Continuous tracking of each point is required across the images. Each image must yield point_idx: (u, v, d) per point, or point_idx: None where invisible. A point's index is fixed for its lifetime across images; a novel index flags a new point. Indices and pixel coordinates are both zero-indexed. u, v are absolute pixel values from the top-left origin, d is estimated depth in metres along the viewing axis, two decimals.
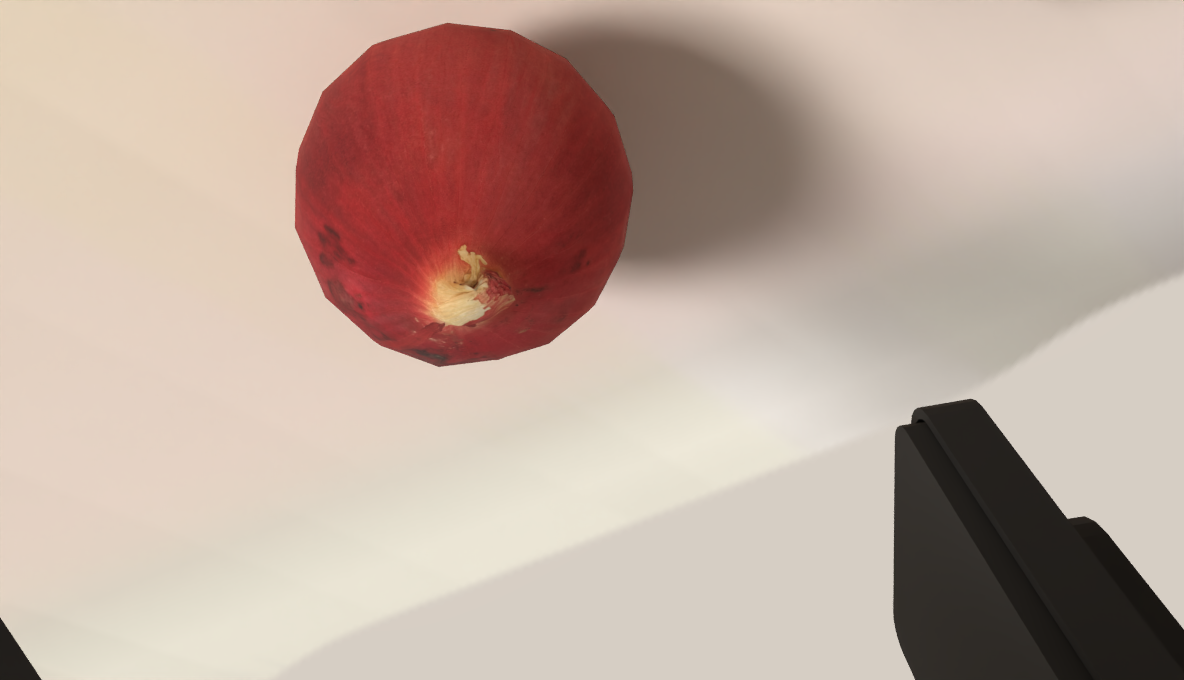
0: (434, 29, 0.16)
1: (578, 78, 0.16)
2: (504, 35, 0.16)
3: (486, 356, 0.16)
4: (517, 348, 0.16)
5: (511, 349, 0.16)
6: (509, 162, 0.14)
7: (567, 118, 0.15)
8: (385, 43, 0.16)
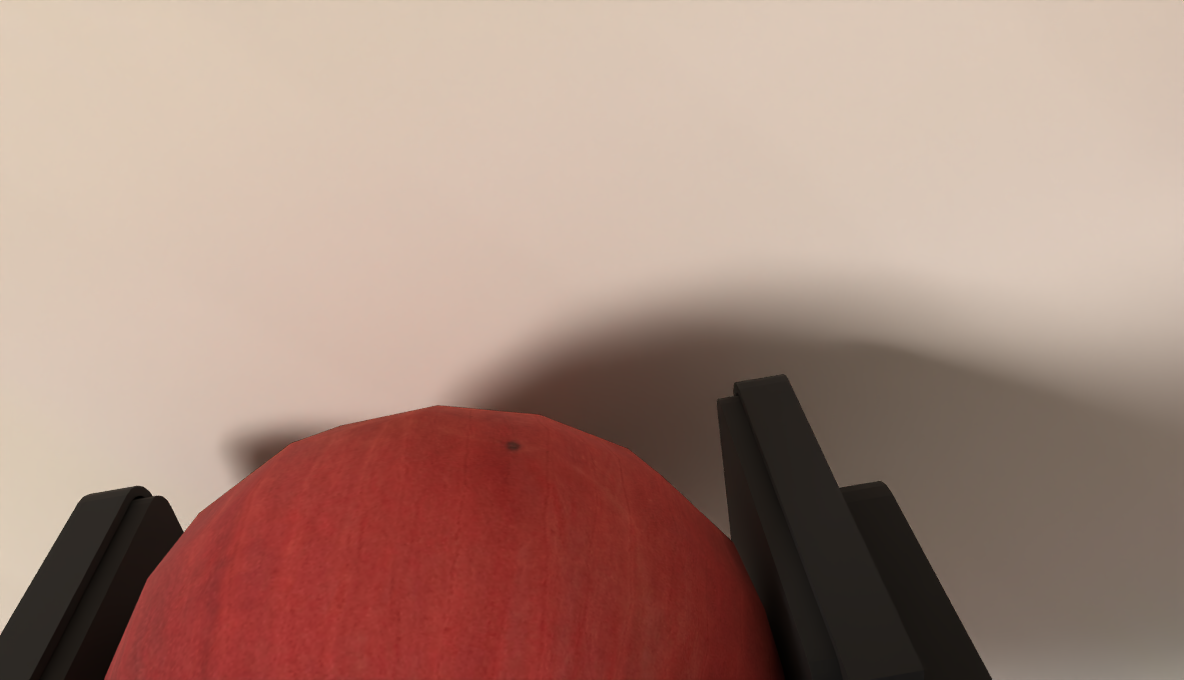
0: (384, 473, 0.07)
1: (696, 558, 0.07)
2: (538, 481, 0.07)
3: None
4: None
5: None
6: None
7: None
8: (276, 497, 0.07)
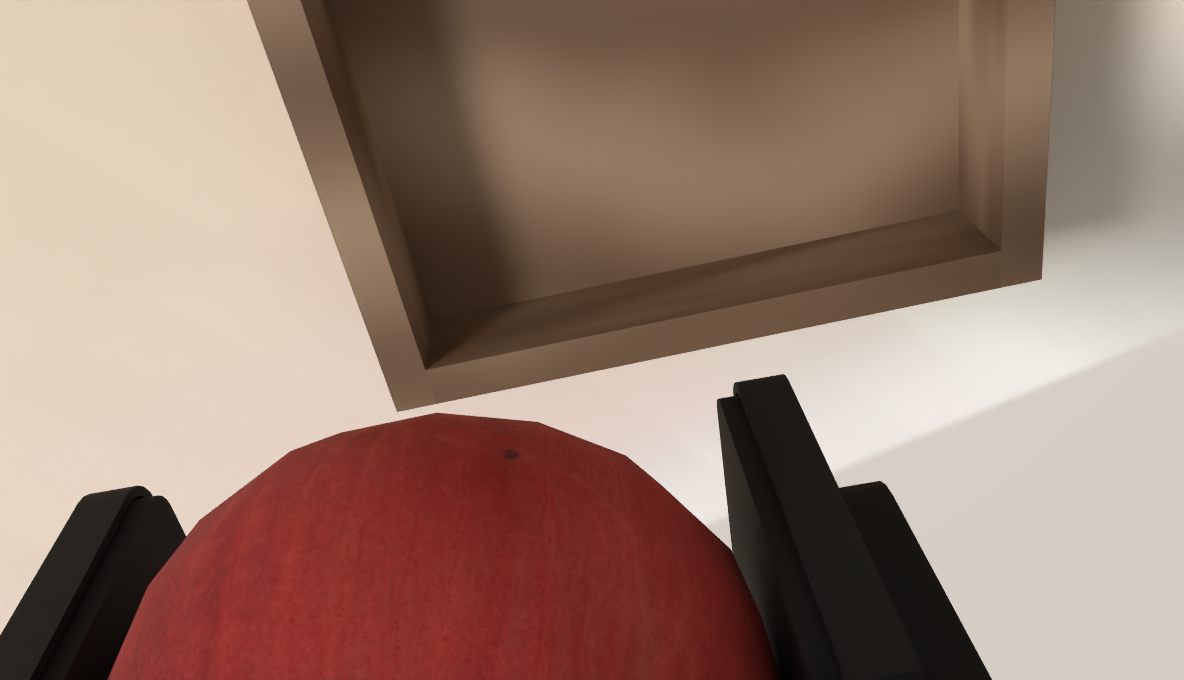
0: (383, 482, 0.07)
1: (693, 566, 0.07)
2: (536, 489, 0.07)
3: None
4: None
5: None
6: None
7: None
8: (276, 506, 0.07)
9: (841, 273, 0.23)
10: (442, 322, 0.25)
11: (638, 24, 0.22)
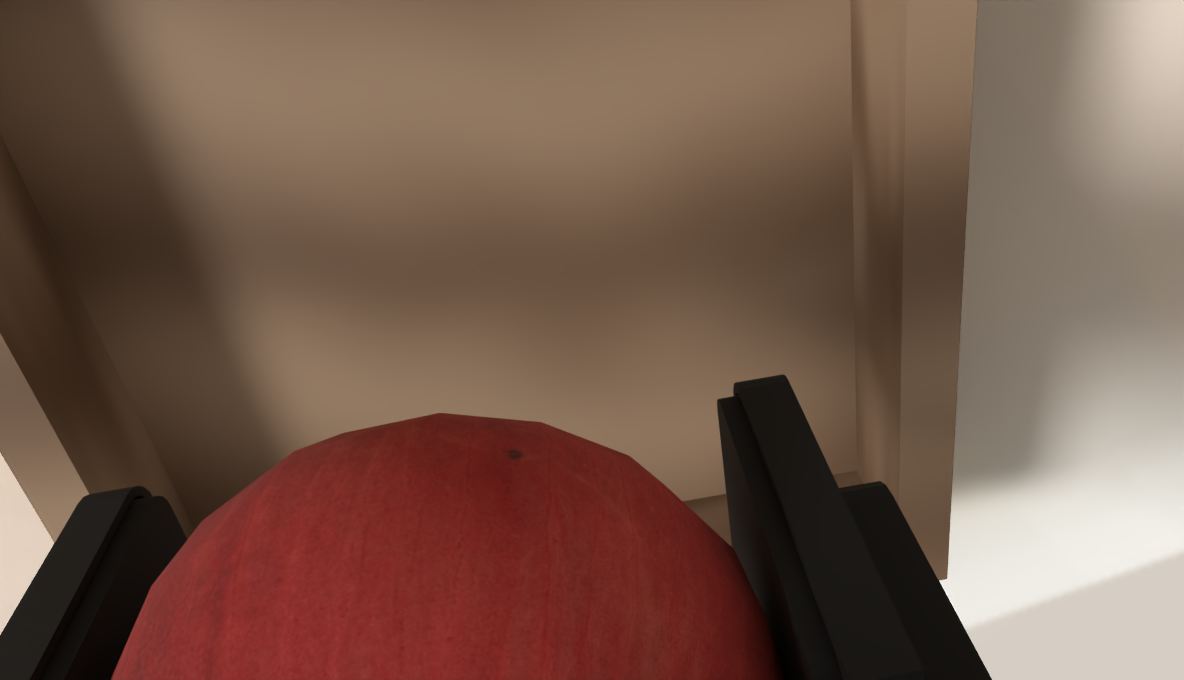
0: (386, 482, 0.07)
1: (698, 566, 0.07)
2: (540, 489, 0.07)
3: None
4: None
5: None
6: None
7: None
8: (280, 506, 0.07)
9: None
10: None
11: (455, 272, 0.18)
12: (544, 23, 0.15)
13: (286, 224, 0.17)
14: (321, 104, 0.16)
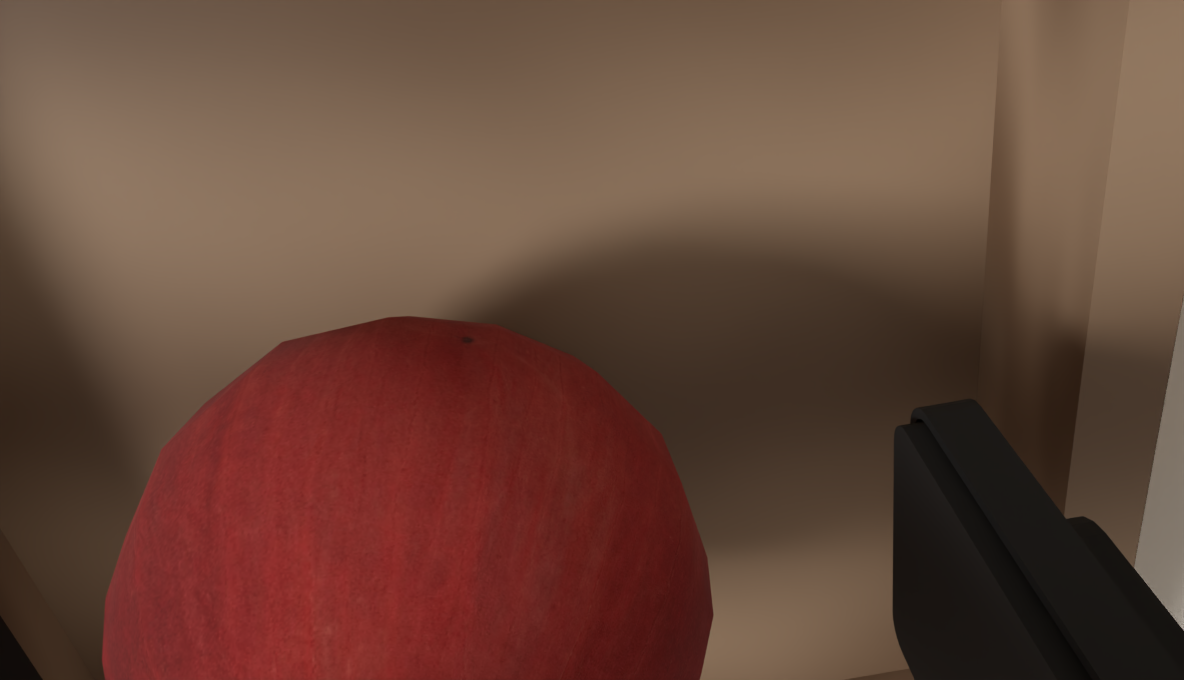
0: (357, 356, 0.08)
1: (619, 433, 0.09)
2: (485, 364, 0.09)
3: None
4: None
5: None
6: None
7: (601, 552, 0.08)
8: (268, 377, 0.09)
9: None
10: None
11: None
12: (580, 131, 0.11)
13: None
14: (278, 236, 0.12)
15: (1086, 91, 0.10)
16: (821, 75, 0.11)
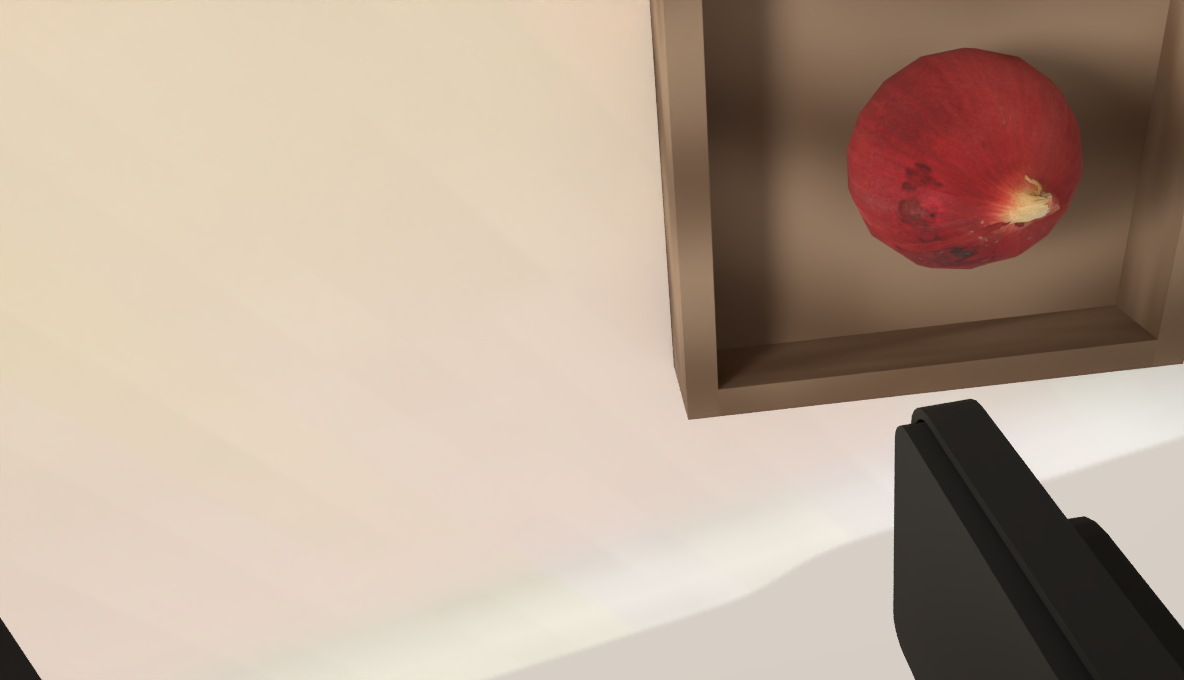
0: (972, 49, 0.25)
1: None
2: (1014, 56, 0.25)
3: (995, 256, 0.24)
4: (1014, 252, 0.25)
5: (1012, 252, 0.24)
6: (1047, 129, 0.23)
7: (1066, 107, 0.24)
8: (939, 56, 0.25)
9: (1035, 345, 0.31)
10: None
11: None
12: (1001, 1, 0.28)
13: (825, 109, 0.29)
14: (868, 39, 0.28)
15: None
16: None
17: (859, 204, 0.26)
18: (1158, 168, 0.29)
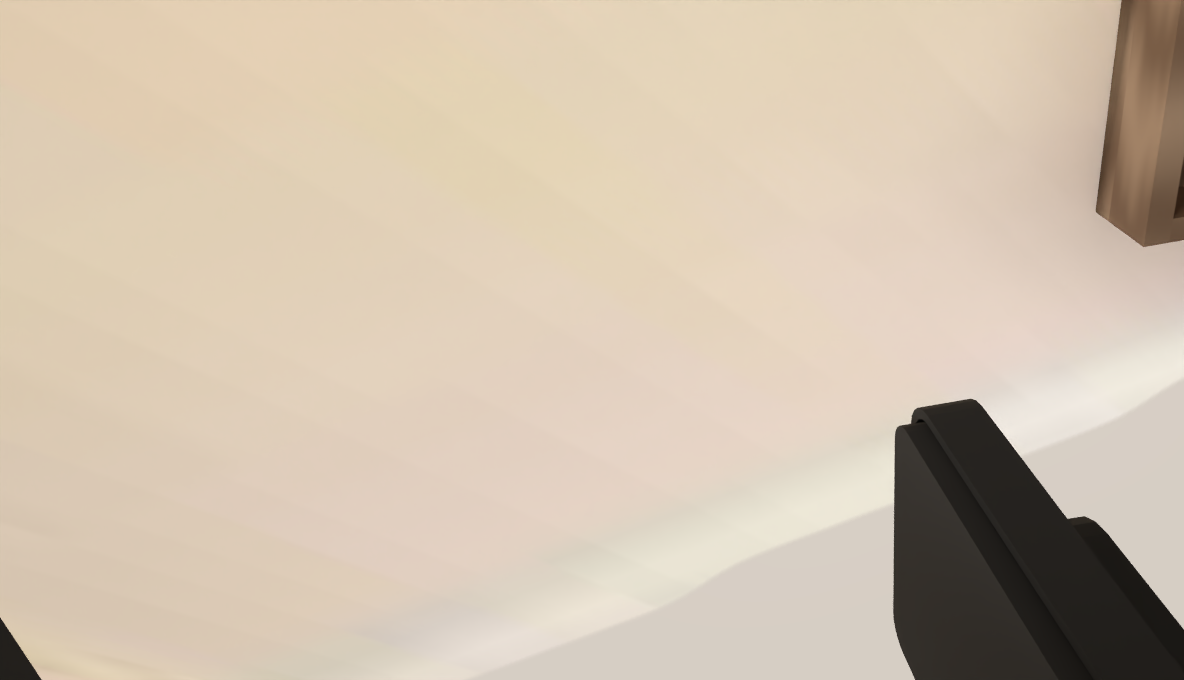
0: None
1: None
2: None
3: None
4: None
5: None
6: None
7: None
8: None
9: None
10: None
11: None
12: None
13: None
14: None
15: None
16: None
17: None
18: None
